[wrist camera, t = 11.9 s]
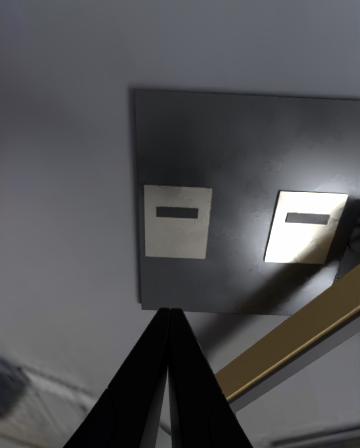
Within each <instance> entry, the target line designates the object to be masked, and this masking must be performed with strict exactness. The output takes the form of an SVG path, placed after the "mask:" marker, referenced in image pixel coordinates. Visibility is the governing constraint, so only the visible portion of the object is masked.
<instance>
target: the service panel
mask: <svg viewBox="0 0 360 448" xmlns="http://www.w3.org/2000/svg"><path fill="white" fill-rule="evenodd" d="M135 114H136V145H137V177H138V209H139V241H140V273H141V305H142V310H159V308H161V307H169V308H170V309H171V308H181V309H182V310H183V311H188V312H212V313H236V314H259V315H283V316H292V315H293V314H295V313H296V312H297V311H298V310H300V309H301V308H302V307H304V306H305V305H306V304H308V303H309V302H310V301H312V300H313V299H314V298H315V297H317V296H318V295H319V294H321V293H322V292H323V291H325V290H326V289H327V288H329V287H330V286H331V285H332V283H333V280H334V278H335V275H336V273H337V270H338V268H339V265H340V262H341V260H342V257H343V255H344V252H345V249H346V247H347V244H348V245H349V247H350V248H351V249H352V250H353V251H354V252H356V253H357V254H359V255H360V101H353V100H332V99H312V98H292V97H271V96H251V95H230V94H210V93H190V92H169V91H149V90H135Z"/></svg>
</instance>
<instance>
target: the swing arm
mask: <svg viewBox="0 0 360 448" xmlns="http://www.w3.org/2000/svg"><path fill="white" fill-rule="evenodd" d="M359 331H360V264H359V265H357V266H356V267H355V268H353V269H352V270H351V271H349V272H348V273H347V274H346V275H344V276H343V277H342V278H340V279H339V280H338V281H336V282H335V283H334V284H332V285H331V286H330V287H329V288H327V289H326V290H325V291H323V292H322V293H321V294H319V295H318V296H317V297H315V298H314V299H313V300H312V301H310V302H309V303H308V304H306V305H305V306H304V307H302V308H301V309H300V310H298V311H297V312H296V313H295V314H293V315H292V316H291V317H289V318H288V319H287V320H285V321H284V322H283V323H281V324H280V325H279V326H278V327H276V328H275V329H274V330H272V331H271V332H270V333H268V334H267V335H266V336H264V337H263V338H262V339H261V340H259V341H258V342H257V343H255V344H254V345H253V346H251V347H250V348H249V349H247V350H246V351H245V352H244V353H242V354H241V355H240V356H238V357H237V358H236V359H234V360H233V361H232V362H230V363H229V364H228V365H227V366H225V367H224V368H223V369H221V370H220V371H219V372H217V373H216V374H214V375H215V377H216V379H217V381H218V383H219V385H220V387H221V389H222V393H224V395H225V397H226V399H227V401H228V403H229V405H230V407H231V409H232V411H233V413H234V414H235V413H236V412H237V411H239V410H240V409H242V408H243V407H245V406H246V405H248V404H249V403H251V402H252V401H254V400H256V399H257V398H259V397H260V396H262V395H263V394H265V393H266V392H268V391H269V390H271V389H272V388H274V387H275V386H277V385H278V384H280V383H281V382H283V381H285V380H286V379H288V378H289V377H291V376H292V375H294V374H295V373H297V372H298V371H300V370H301V369H303V368H304V367H306V366H307V365H309V364H311V363H312V362H314V361H315V360H317V359H318V358H320V357H321V356H323V355H324V354H326V353H327V352H329V351H330V350H332V349H333V348H335V347H337V346H338V345H340V344H341V343H343V342H344V341H346V340H347V339H349V338H350V337H352V336H353V335H355V334H356V333H358V332H359ZM235 416H236V414H235Z"/></svg>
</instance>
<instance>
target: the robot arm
mask: <svg viewBox="0 0 360 448" xmlns="http://www.w3.org/2000/svg"><path fill="white" fill-rule="evenodd" d="M167 371H168V384H169V403H170V421H171V440H172V448H253V446H252V445H251V443H250V441H249V440H248V438H247V436H246V434H245V433H244V431H243V429H242V428H241V426H240V424H239V422H238V420H237V418H236V416H235V414H234V413H233V411H232V409H231V407H230V405H229V403H228V401H227V399H226V397H225V395H224V393H222V389H221V387H220V385H219V383H218V381H217V379H216V377H215V375H214V373H213V371H212V369H211V367H210V365H209V363H208V361H207V358H206V356H205V354H204V352H203V350H202V348H201V346H200V344H199V342H198V340H197V338H196V336H195V334H194V332H193V330H192V328H191V326H190V324H189V322H188V320H187V318H186V316H185V314H184V312H183V310H182V309H181V308H171V309H170V308H169V307H161V308H159V310H158V311H157V313H156V314H155V316H154V317H153V319H152V320H151V322H150V323H149V325H148V326H147V328H146V329H145V331H144V332H143V334H142V335H141V337H140V338H139V340H138V341H137V343H136V344H135V346H134V347H133V349H132V350H131V352H130V353H129V355H128V356H127V358H126V359H125V361H124V362H123V364H122V365H121V367H120V368H119V370H118V371H117V373H116V374H115V376H114V377H113V379H112V380H111V382H110V383H109V385H108V389H107V388H106V389H105V391H104V392H103V394H102V395H101V397H100V398H99V400H98V401H97V403H96V404H95V405H94V407H93V408H92V410H91V411H90V413H89V414H88V415H87V417H86V418H85V420H84V421H83V422H82V424H81V425H80V426H79V427H78V429H77V430H76V431H75V433H74V434H73V435H72V437H71V438H70V439H69V440H68V442H67V443H66V444H65V445H64V447H63V448H155V445H156V439H157V433H158V427H159V421H160V415H161V409H162V403H163V397H164V391H165V385H166V379H167Z"/></svg>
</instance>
